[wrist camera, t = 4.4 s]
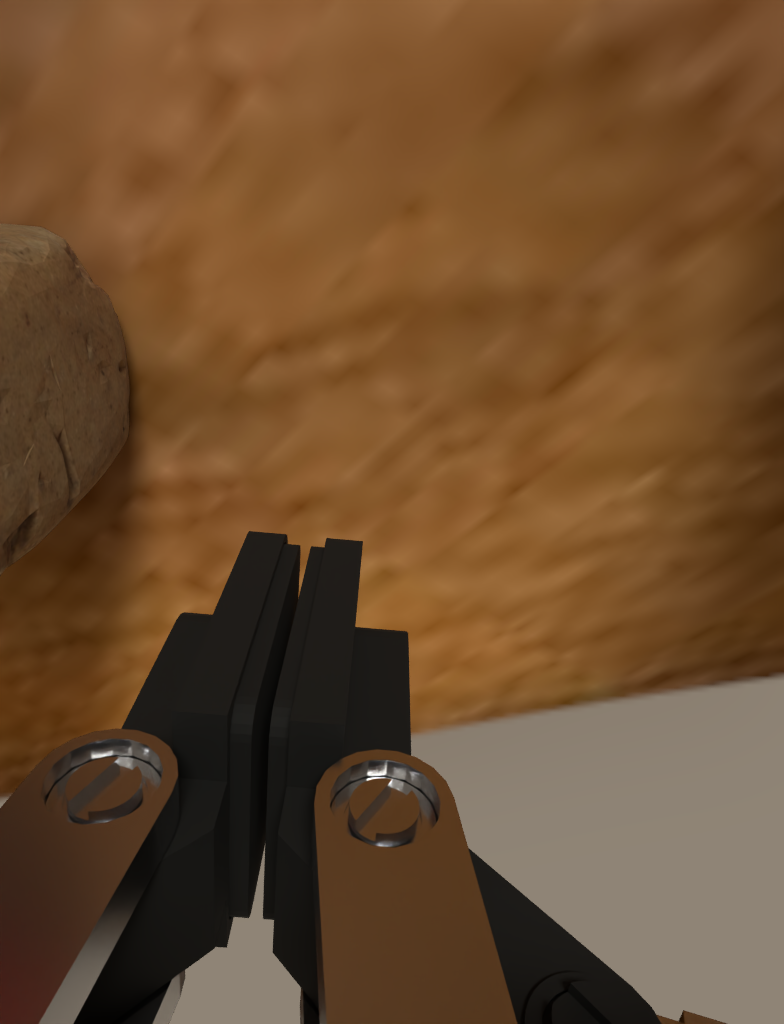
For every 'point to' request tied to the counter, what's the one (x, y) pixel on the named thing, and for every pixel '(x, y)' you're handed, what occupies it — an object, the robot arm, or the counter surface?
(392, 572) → the counter surface
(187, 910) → the robot arm
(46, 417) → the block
